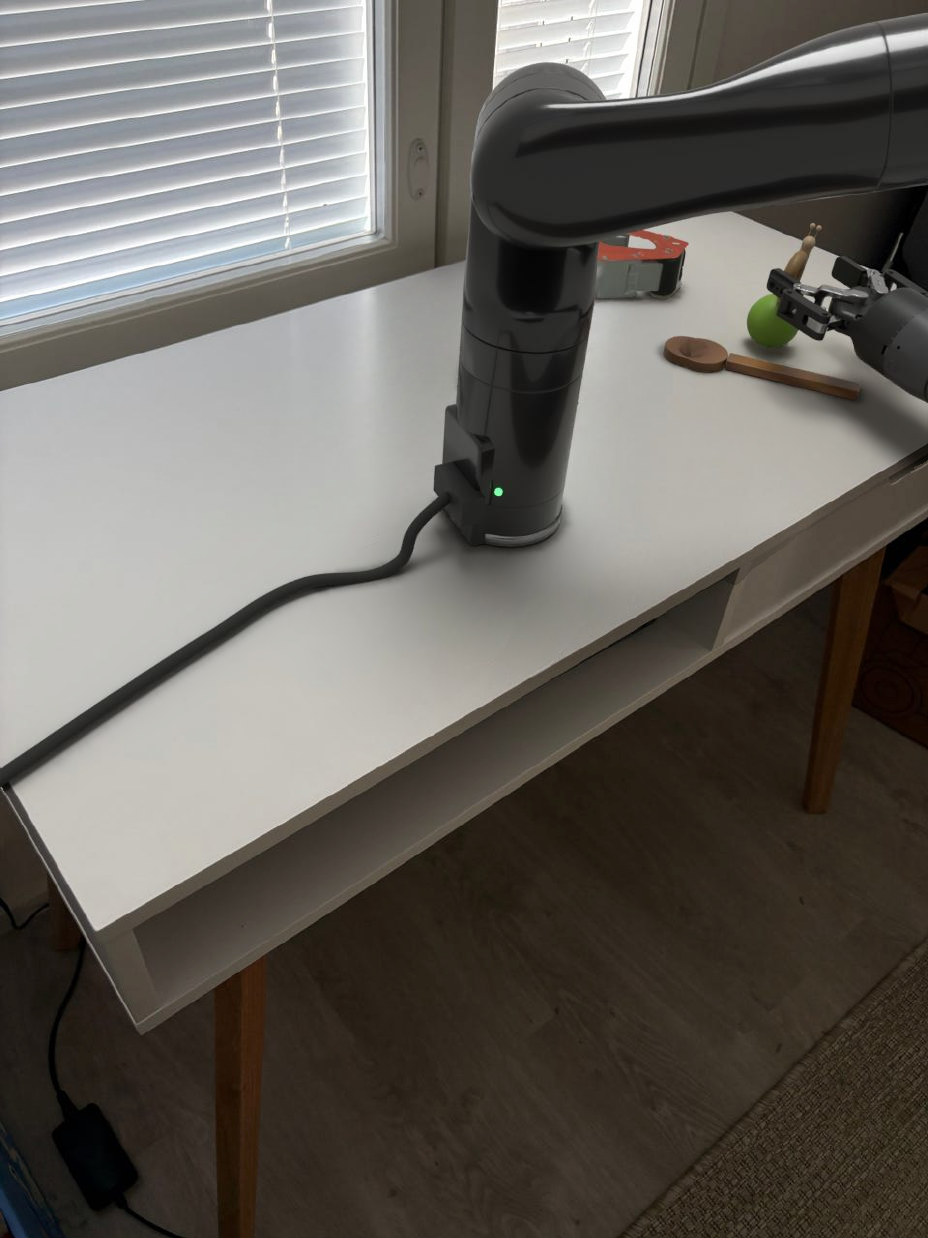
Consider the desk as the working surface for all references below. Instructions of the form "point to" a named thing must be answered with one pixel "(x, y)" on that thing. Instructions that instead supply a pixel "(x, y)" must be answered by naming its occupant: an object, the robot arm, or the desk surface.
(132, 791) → the desk surface
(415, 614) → the desk surface
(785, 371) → the spoon
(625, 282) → the tape dispenser
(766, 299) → the snail figurine
